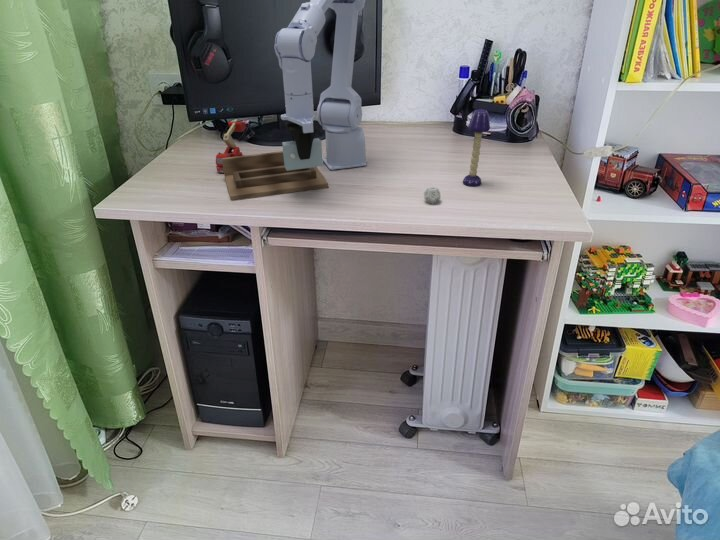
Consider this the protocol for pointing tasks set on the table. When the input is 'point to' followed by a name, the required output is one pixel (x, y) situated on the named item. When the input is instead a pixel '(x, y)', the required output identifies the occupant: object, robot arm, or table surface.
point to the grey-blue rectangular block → (294, 161)
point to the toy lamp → (476, 144)
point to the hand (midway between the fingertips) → (303, 156)
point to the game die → (432, 195)
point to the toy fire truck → (230, 144)
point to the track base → (267, 176)
